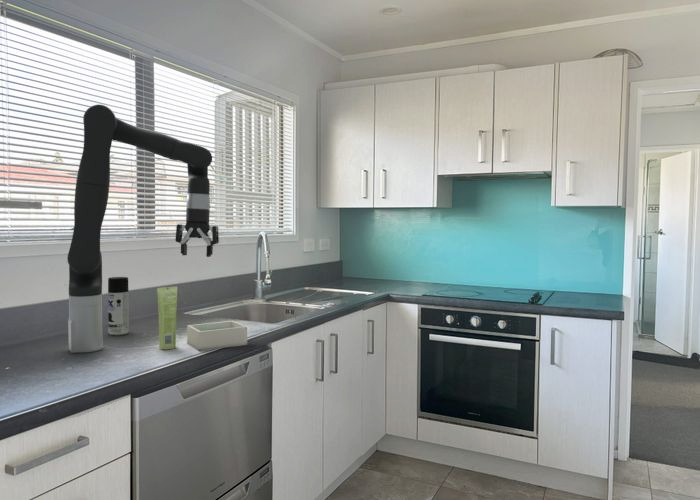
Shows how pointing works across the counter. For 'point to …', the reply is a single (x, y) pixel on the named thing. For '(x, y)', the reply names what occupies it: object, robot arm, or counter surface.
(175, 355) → the counter surface
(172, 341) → the tube
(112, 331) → the spray can
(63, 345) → the counter surface
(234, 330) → the box
